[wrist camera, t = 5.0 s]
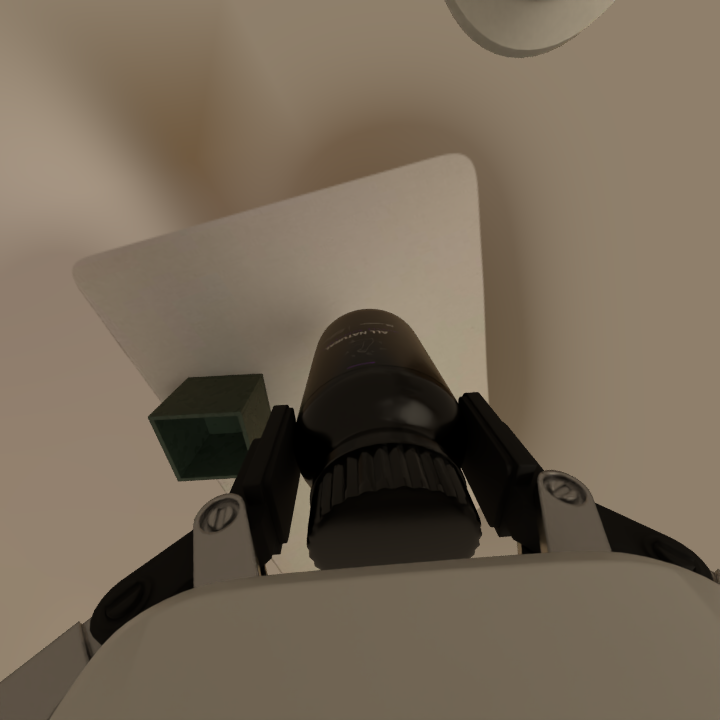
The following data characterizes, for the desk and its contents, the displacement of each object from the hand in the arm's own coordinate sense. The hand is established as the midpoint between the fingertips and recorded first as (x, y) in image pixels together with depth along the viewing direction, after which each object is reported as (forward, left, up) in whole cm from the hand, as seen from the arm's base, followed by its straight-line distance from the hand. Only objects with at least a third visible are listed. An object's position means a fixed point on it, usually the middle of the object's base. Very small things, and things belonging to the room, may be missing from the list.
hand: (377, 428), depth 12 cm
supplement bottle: (0, 0, -7) cm, 7 cm away
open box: (+15, -18, -24) cm, 34 cm away
